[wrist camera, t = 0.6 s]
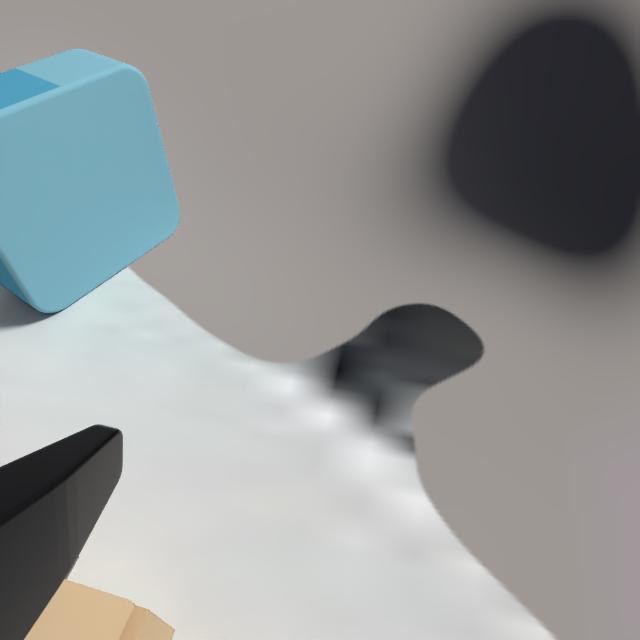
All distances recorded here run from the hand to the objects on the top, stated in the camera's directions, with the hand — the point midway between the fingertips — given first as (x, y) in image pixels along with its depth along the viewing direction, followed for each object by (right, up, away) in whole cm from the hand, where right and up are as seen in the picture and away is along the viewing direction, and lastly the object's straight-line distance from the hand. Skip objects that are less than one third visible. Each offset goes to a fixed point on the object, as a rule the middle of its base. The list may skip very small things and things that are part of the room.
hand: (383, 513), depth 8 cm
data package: (-17, +7, +26) cm, 31 cm away
